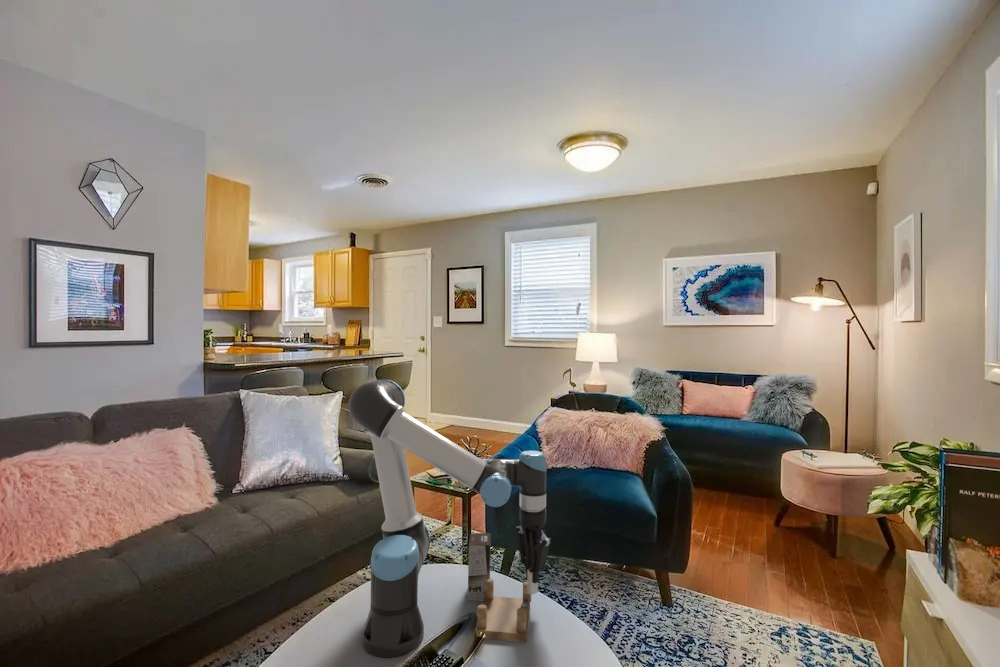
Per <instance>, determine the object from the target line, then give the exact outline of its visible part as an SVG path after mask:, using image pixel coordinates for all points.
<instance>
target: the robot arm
mask: <svg viewBox="0 0 1000 667" xmlns="http://www.w3.org/2000/svg"><path fill="white" fill-rule="evenodd" d="M405 396H406V395H405V392H404V390H403V389H402V387H401V386H400V385H399V384H398V383H397V382H395V381H393V380H390V379H385V378H382V379H376V380H373V381H370V382H366V383H363V384H360V385H359V386H358V387H356V388H355V389H354V390H353V392H352V393H351V394H350V397H349V399H348V411H349V414H350V417H351V418H352V420H353V421H354V422H355V423H356V424H357V425H359V427H361V428H363V431H364V433H366V434H367V435H368V436H370V439H371V444H372V450H373V455H374V460H375V467H376V471H377V472H376V473H377V477H378V478H377V479H378V483H379V489H380V495H381V500H382V507H383V511H384V516H385V520H384V521H383V523H382V525H381V533H382V537H383V539H381V540H379V541H378V542H377V543H376V544H375V545H374V547H373V549H372V551H371V557H370V609H369V612H368V615H367V618H366V621H365V623H364V627H363V630H362V640H361V641H362V647H363V649H365V651H366V652H367V653H368V654H370V655H373V656H375V657H380V658H395V657H400V656H403V655H406V654H409V653H410V652H412V651H414V650H415V649H417V647H419V646H420V644H422V642H423V639H424V635H425V630H424V628H425V625H424V622H423V617H422V615H421V611H420V608H419V605H418V593H419V592H418V589H419V588H418V584H419V582H418V581H419V575H420V572H421V569H422V566H423V564H424V562H425V559H426V557H427V555H428V553H429V551H430V546H431V534H430V530H429V529H428V527H427V525H426V524H425V522H424V516H423V515H422V514H421V513H419V512H418V511H417V509H416V503H415V498H414V493H413V487H412V481H411V476H410V471H409V470H410V469H409V466H408V465H409V464H408V460H407V458H408V457H407V454H406V450H407V451H408V452H410V453H411V454H413V455H415V456H416V457H418V458H420V459H421V460H423V461H425V462H426V463H428V464H430V465H431V466H433V467H435V468H436V469H438V470H439V471H441V472H443V473H444V474H446V475H447V476H449V477H451V478H453V479H454V480H456V481H458V482H459V483H461V484H462V485H464V486H465V487H467V488H469V489H470V490H472V491H473V492H475V493H477V494H478V495H480V498H481V499H482V501H483V502H484V504H486V505H487V506H489V507H491V508H499V507H502V506H503V505H505V504H506V503H507V502H508V501H509V500H510V499H509V498H510V497H511V493H512V487H513V488H516V487H517V488H519V522H520V525H519V526H515V527H514V530H515V533H516V536H517V543H518V544H517V545H518V551H519V556H520V558H519V559H520V563H521V564H523V565H524V567H525V571H526V572H525V576H526V580H527V581H526V582H527V593H528V594H529V595H531V596H533V595H535V594H537V593H539V592H538V591H539V582H540V572H542V571H544V570H545V569H546V564H547V560H548V554H549V548H550V546H551V543H552V539H551V538H550V537H547V535H546V530H545V525H546V522H547V509H546V507H547V456H546V455H545V453H544V452H542V451H539V450H523V451H522V452H520V454H519V458H514V459H513V458H493V457H492V458H489V457H488V458H479V457H478V456H477V455H474V454H473V453H472V452H470V451H468V450H467V449H465V448H463V447H461V445H458V444H456V443H455V442H454V441H451V440H450V439H449V438H448V437H445V436H443V435H442V434H441V433H440V432H437V431H435V430H434V429H433V428H430V427H429V426H428V425H426V424H424V423H423V422H421V421H419V420H418V419H416V418H415V417H414V416H411V415H409V414H408V413H406V412H405V411H404V407H405V403H406V402H405V401H406V397H405Z"/></svg>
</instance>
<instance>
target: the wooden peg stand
mask: <svg viewBox="0 0 1000 667" xmlns="http://www.w3.org/2000/svg"><path fill="white" fill-rule="evenodd" d="M494 582H495V581H494V579H492V578H490V579H486V580H485V598H484V601H482V604H479V605H478V606H477V608H476V609H477V612H476V616H477V618H476V620H477V621H476V627H475V631H476V632H484V633H485V635H486V637H485V639H486V640H495V641H496V640H497V641H505V642H506V641H508V642H518V643H527V641H528V640H527V639H528V630H529V620H530V610H531V608H530V607H531V602H529V603H528V607H527V605H525V604H522V603H523V598H522V597H521V598H520V597H519V598H518V597H517V598H516V597H505V596H496V595H495V596H494V587H495V586H494ZM475 631H474V632H475ZM485 639H484V640H485Z"/></svg>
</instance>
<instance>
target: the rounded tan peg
mask: <svg viewBox="0 0 1000 667" xmlns="http://www.w3.org/2000/svg"><path fill="white" fill-rule="evenodd" d="M522 599H523V603H522V604H525V605H527V607H528V603H529V602H530V603H531V602H532V595H529V594H528V593H527V581H524V582H523V583H522Z"/></svg>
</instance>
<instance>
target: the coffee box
mask: <svg viewBox="0 0 1000 667" xmlns="http://www.w3.org/2000/svg"><path fill="white" fill-rule="evenodd" d="M491 537H492V534H491V533H490V532H480V533H479V532H478V533H477V532H476V533H474V532H472V533H470V537H469V543H468V564H467V565H468V567H467V568H468V569H467V571H468V572H467V574H468V576H467V600H468V601H475V602H477V601H478V602H479V601H480V602H483V601H484V598H485V580H486V579H491V551H492V550H491V541H492V539H491Z"/></svg>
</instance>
